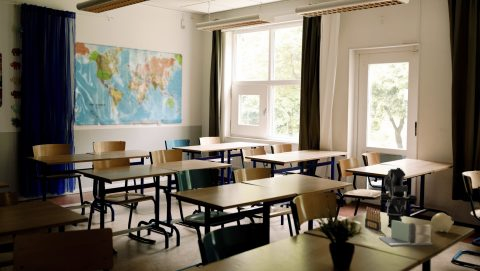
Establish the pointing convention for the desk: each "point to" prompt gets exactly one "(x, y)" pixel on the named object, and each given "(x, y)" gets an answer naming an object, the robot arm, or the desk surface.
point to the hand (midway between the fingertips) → (399, 212)
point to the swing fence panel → (400, 230)
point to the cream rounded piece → (442, 222)
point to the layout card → (399, 242)
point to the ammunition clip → (373, 219)
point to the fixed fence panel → (420, 233)
